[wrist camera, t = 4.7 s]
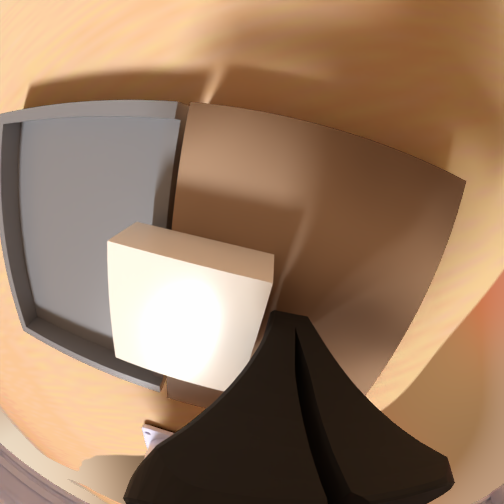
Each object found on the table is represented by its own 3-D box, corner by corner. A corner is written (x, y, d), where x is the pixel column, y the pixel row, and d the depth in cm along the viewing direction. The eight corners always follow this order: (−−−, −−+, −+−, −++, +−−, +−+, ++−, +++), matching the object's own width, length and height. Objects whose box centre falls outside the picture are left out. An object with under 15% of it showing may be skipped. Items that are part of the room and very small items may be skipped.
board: (337, 400, 15) (341, 425, 13) (177, 373, 15) (167, 397, 13) (439, 173, 9) (466, 181, 7) (205, 109, 9) (190, 102, 8)
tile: (244, 359, 11) (238, 394, 9) (135, 328, 11) (115, 357, 9) (274, 254, 9) (272, 283, 7) (136, 221, 9) (107, 240, 7)
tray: (169, 370, 15) (160, 392, 13) (37, 317, 15) (23, 330, 13) (193, 107, 9) (177, 101, 8) (21, 112, 9) (-1, 114, 8)
